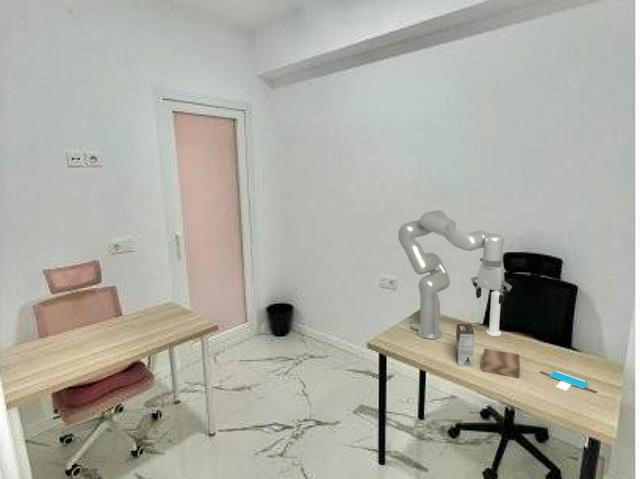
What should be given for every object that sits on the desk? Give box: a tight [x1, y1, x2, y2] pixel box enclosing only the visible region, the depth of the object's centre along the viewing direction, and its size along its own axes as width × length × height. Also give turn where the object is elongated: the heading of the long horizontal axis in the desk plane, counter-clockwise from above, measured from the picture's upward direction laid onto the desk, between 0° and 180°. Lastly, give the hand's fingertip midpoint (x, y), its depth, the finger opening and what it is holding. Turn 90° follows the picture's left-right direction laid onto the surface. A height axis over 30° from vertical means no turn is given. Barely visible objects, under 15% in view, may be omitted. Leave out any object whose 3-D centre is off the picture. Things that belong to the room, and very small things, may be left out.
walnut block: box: [481, 348, 521, 379], centre depth 166 cm, size 14×12×5 cm
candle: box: [485, 290, 502, 337], centre depth 194 cm, size 7×7×25 cm
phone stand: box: [539, 369, 598, 394], centre depth 154 cm, size 20×12×2 cm, turn 41°
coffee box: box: [455, 323, 475, 367], centre depth 171 cm, size 9×6×16 cm
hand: (489, 300), depth 169 cm, fingers open, 9 cm apart
